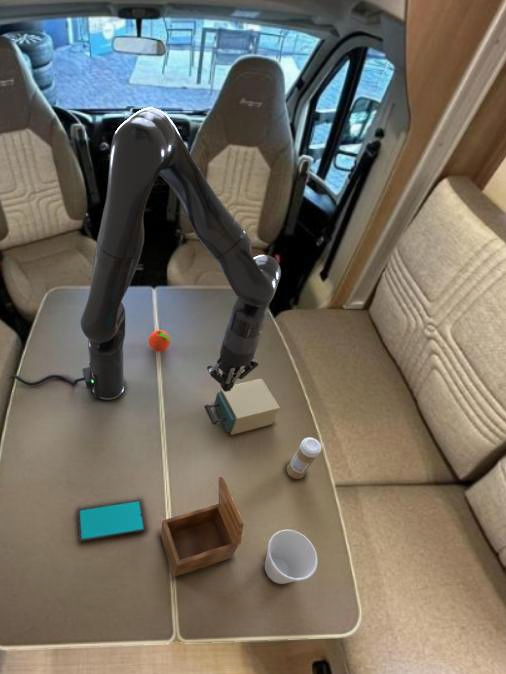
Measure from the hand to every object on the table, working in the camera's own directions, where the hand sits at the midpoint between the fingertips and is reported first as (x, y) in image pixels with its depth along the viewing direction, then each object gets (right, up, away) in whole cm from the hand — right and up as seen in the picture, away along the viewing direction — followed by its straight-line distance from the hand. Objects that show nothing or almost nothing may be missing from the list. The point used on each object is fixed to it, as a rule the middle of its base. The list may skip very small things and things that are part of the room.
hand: (225, 388), depth 105 cm
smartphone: (-28, -31, -7) cm, 43 cm away
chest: (-9, -36, -10) cm, 38 cm away
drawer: (+4, -8, +13) cm, 16 cm away
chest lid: (-4, -24, -21) cm, 32 cm away
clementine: (-16, +12, +30) cm, 36 cm away
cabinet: (+8, -8, +14) cm, 18 cm away
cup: (+9, -40, -12) cm, 43 cm away
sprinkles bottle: (+19, -22, +3) cm, 29 cm away
